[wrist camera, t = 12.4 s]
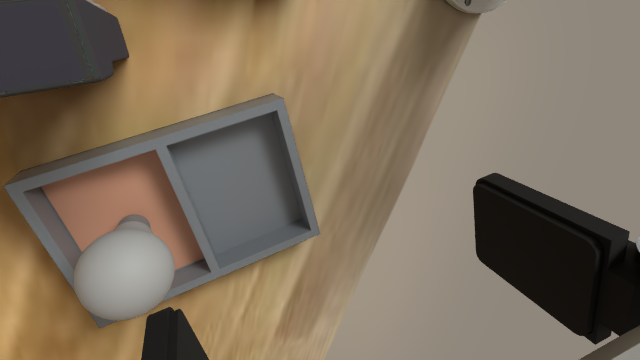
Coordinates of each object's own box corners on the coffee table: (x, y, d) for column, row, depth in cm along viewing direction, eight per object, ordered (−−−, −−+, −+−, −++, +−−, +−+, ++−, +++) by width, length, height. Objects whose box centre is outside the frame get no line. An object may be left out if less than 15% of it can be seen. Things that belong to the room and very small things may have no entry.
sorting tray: (272, 93, 33) (283, 98, 30) (308, 219, 39) (320, 233, 36) (20, 171, 28) (3, 186, 25) (105, 303, 34) (99, 328, 31)
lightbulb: (172, 190, 32) (175, 251, 22) (172, 251, 34) (176, 331, 24) (91, 192, 30) (57, 261, 20) (97, 257, 31) (68, 350, 22)
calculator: (114, 5, 27) (63, -33, 14) (133, 65, 29) (103, 81, 16) (-68, 24, 24) (-359, -3, 11) (-35, 90, 25) (-250, 137, 12)
